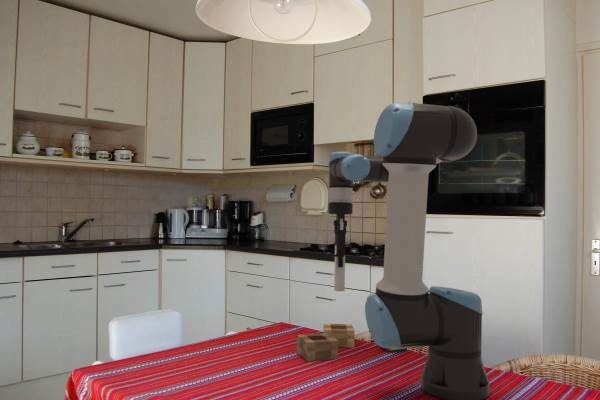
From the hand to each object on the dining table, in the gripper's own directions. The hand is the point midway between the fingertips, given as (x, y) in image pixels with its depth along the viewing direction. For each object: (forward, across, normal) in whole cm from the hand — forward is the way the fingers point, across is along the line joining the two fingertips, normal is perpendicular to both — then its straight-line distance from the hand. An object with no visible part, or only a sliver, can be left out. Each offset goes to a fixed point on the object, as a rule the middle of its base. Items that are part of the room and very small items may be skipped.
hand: (339, 277), depth 157 cm
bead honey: (+21, 0, 0) cm, 21 cm away
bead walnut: (+20, -14, +7) cm, 26 cm away
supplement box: (+21, -6, -16) cm, 27 cm away
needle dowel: (+4, 0, 0) cm, 4 cm away
